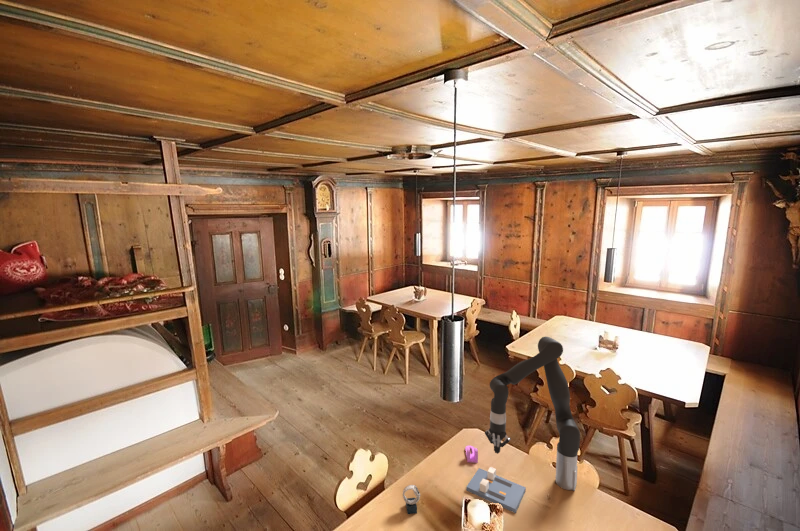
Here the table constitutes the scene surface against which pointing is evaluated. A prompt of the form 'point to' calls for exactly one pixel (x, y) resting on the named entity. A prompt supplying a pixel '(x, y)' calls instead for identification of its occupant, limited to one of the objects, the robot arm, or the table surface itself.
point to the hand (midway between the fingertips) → (497, 452)
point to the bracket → (473, 456)
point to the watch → (411, 499)
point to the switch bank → (498, 490)
